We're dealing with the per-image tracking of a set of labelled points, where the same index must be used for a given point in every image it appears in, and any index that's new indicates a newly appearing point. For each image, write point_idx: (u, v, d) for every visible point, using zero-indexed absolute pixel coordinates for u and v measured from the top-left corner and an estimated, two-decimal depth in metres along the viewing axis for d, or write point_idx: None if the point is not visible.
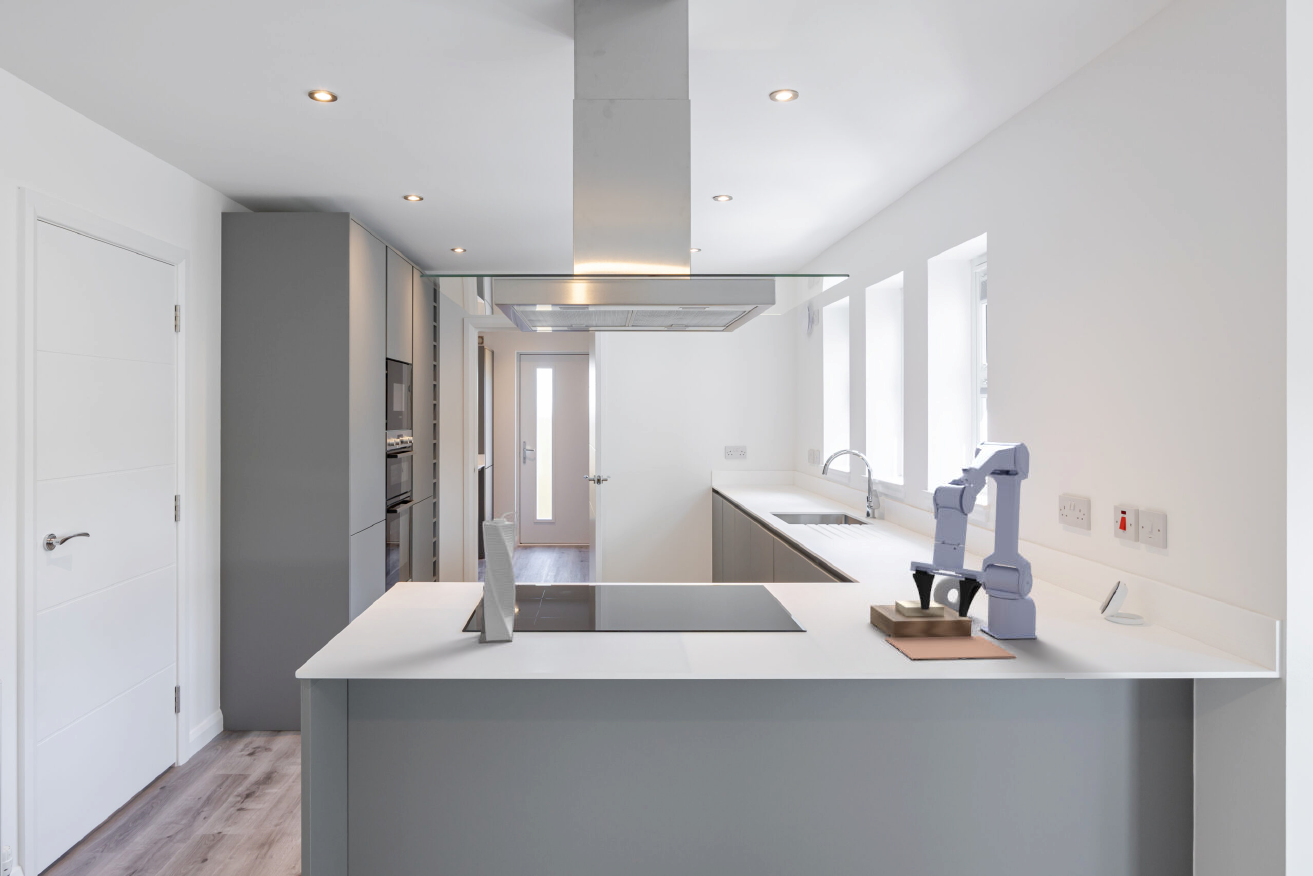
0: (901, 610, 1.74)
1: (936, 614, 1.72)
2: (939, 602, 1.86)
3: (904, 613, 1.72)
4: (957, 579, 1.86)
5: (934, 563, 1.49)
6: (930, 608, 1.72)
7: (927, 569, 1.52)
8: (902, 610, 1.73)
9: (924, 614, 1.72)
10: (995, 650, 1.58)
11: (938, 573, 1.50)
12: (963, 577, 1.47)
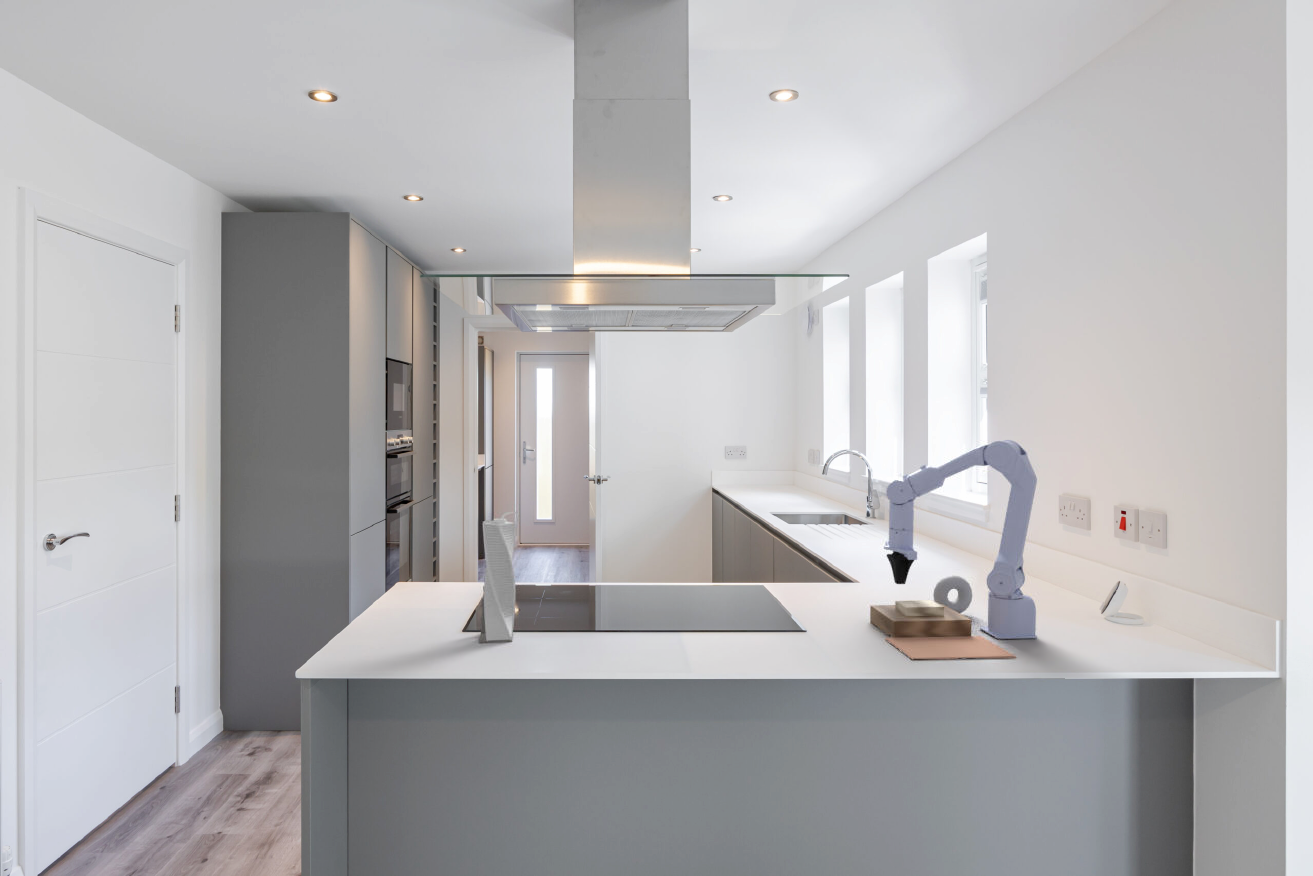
0: (901, 610, 1.74)
1: (936, 614, 1.72)
2: (939, 602, 1.86)
3: (904, 613, 1.72)
4: (957, 579, 1.86)
5: None
6: (930, 608, 1.72)
7: None
8: (902, 610, 1.73)
9: (924, 614, 1.72)
10: (995, 650, 1.58)
11: (896, 551, 1.87)
12: (905, 555, 1.82)
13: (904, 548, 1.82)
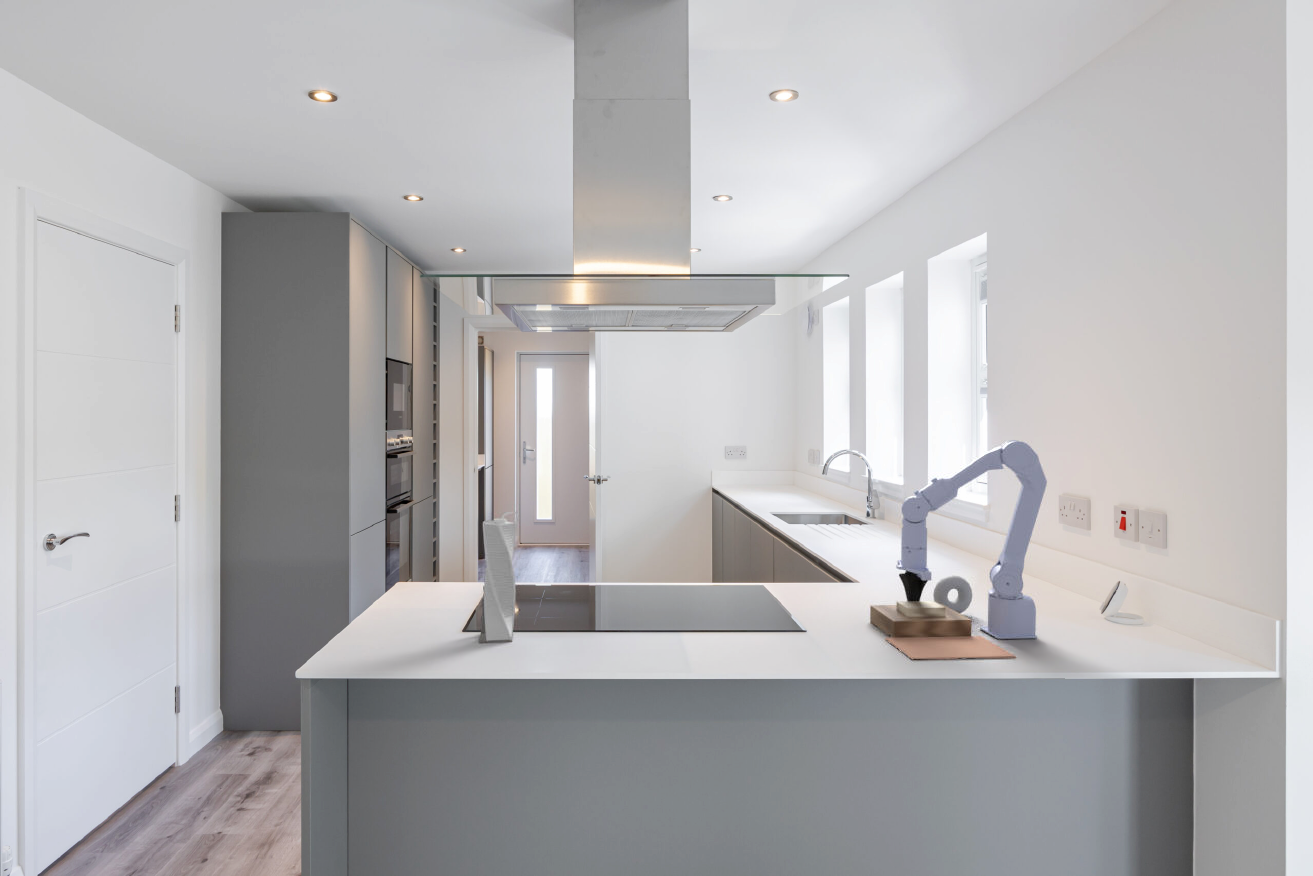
0: (902, 611, 1.73)
1: (937, 615, 1.71)
2: (939, 602, 1.86)
3: (905, 614, 1.71)
4: (957, 579, 1.86)
5: None
6: (931, 609, 1.71)
7: None
8: (904, 611, 1.72)
9: (925, 615, 1.71)
10: (995, 650, 1.58)
11: None
12: (918, 575, 1.74)
13: (917, 568, 1.75)
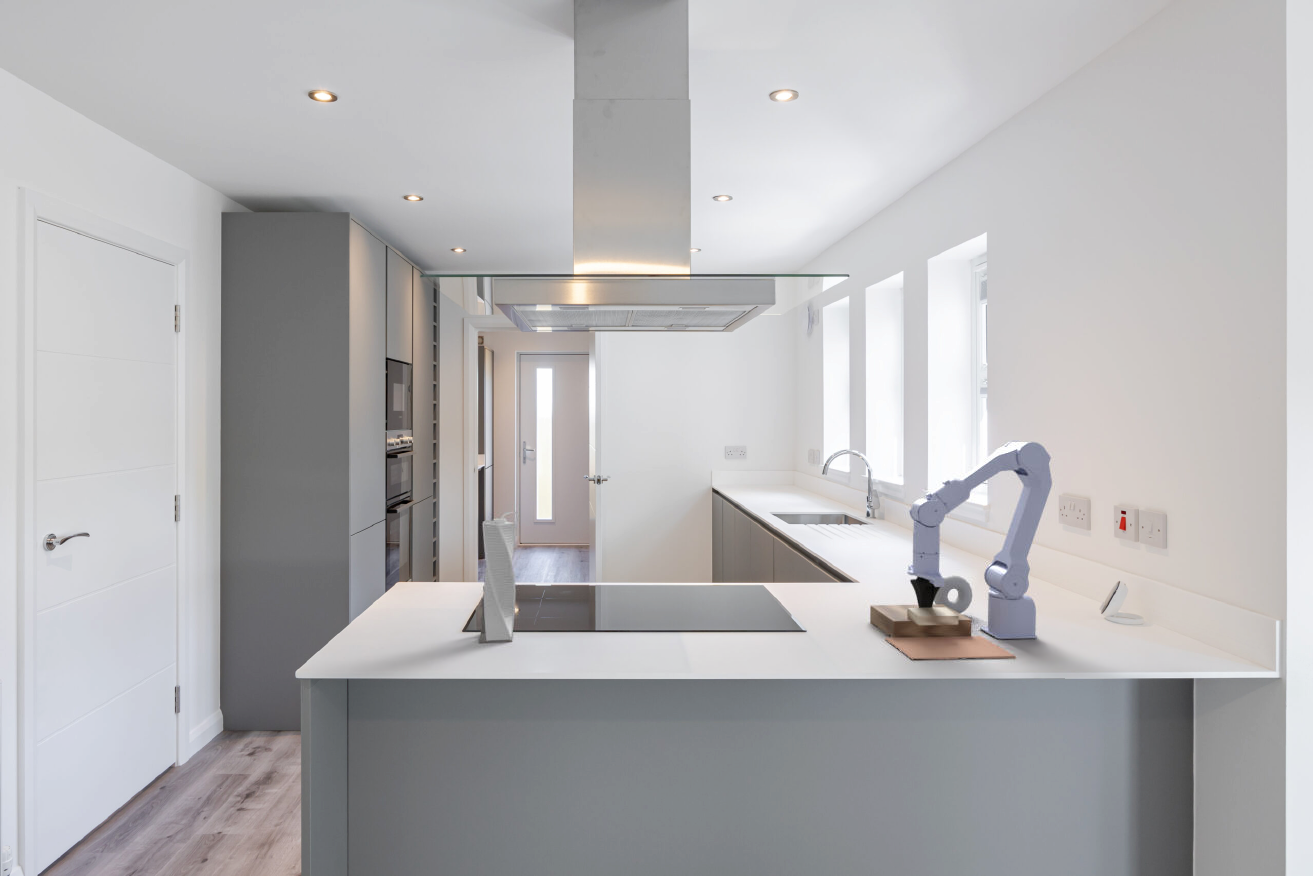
0: (913, 618, 1.67)
1: (950, 623, 1.65)
2: (939, 602, 1.86)
3: (917, 622, 1.65)
4: (957, 579, 1.86)
5: None
6: (944, 617, 1.65)
7: None
8: (915, 619, 1.66)
9: (938, 623, 1.65)
10: (995, 650, 1.58)
11: (921, 577, 1.73)
12: (931, 581, 1.68)
13: (930, 574, 1.68)
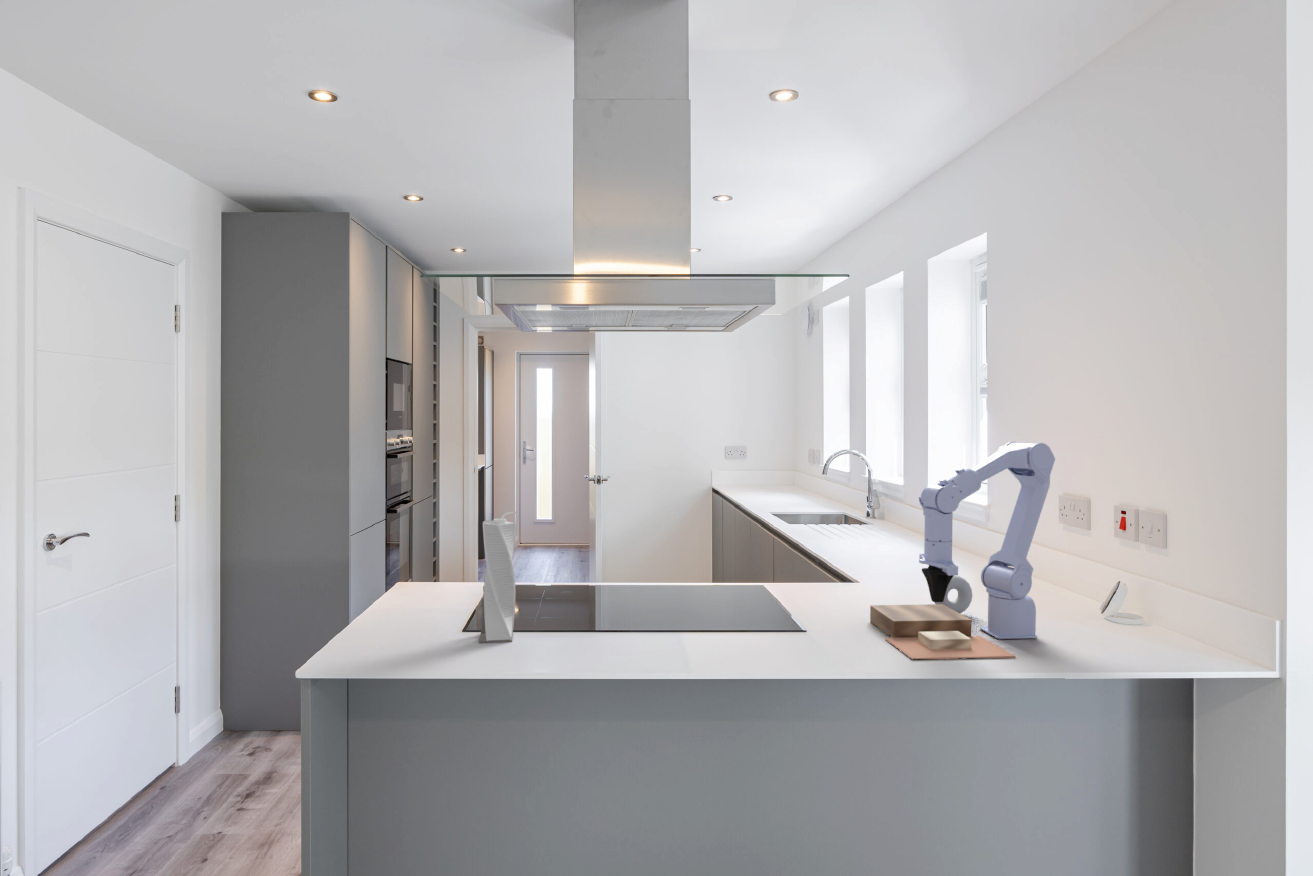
0: (922, 638, 1.62)
1: None
2: (939, 602, 1.86)
3: (919, 634, 1.64)
4: (957, 579, 1.86)
5: None
6: None
7: None
8: (921, 637, 1.63)
9: None
10: (995, 650, 1.58)
11: (933, 565, 1.67)
12: (943, 570, 1.62)
13: (942, 562, 1.62)
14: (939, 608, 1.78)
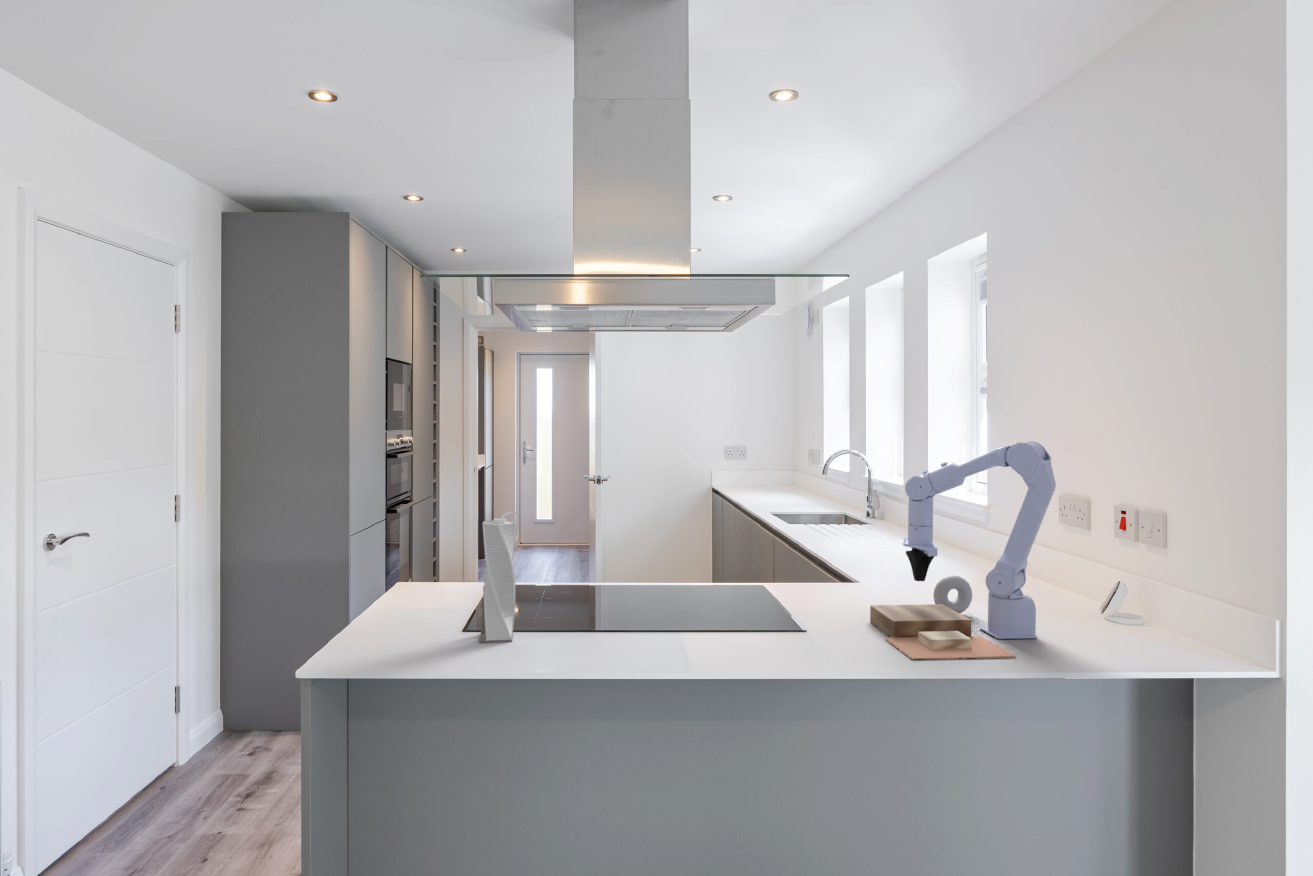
0: (922, 638, 1.62)
1: None
2: (939, 602, 1.86)
3: (919, 634, 1.64)
4: (957, 579, 1.86)
5: None
6: None
7: None
8: (921, 637, 1.63)
9: None
10: (995, 650, 1.58)
11: (916, 548, 1.85)
12: (924, 552, 1.80)
13: (924, 545, 1.80)
14: (939, 608, 1.78)
